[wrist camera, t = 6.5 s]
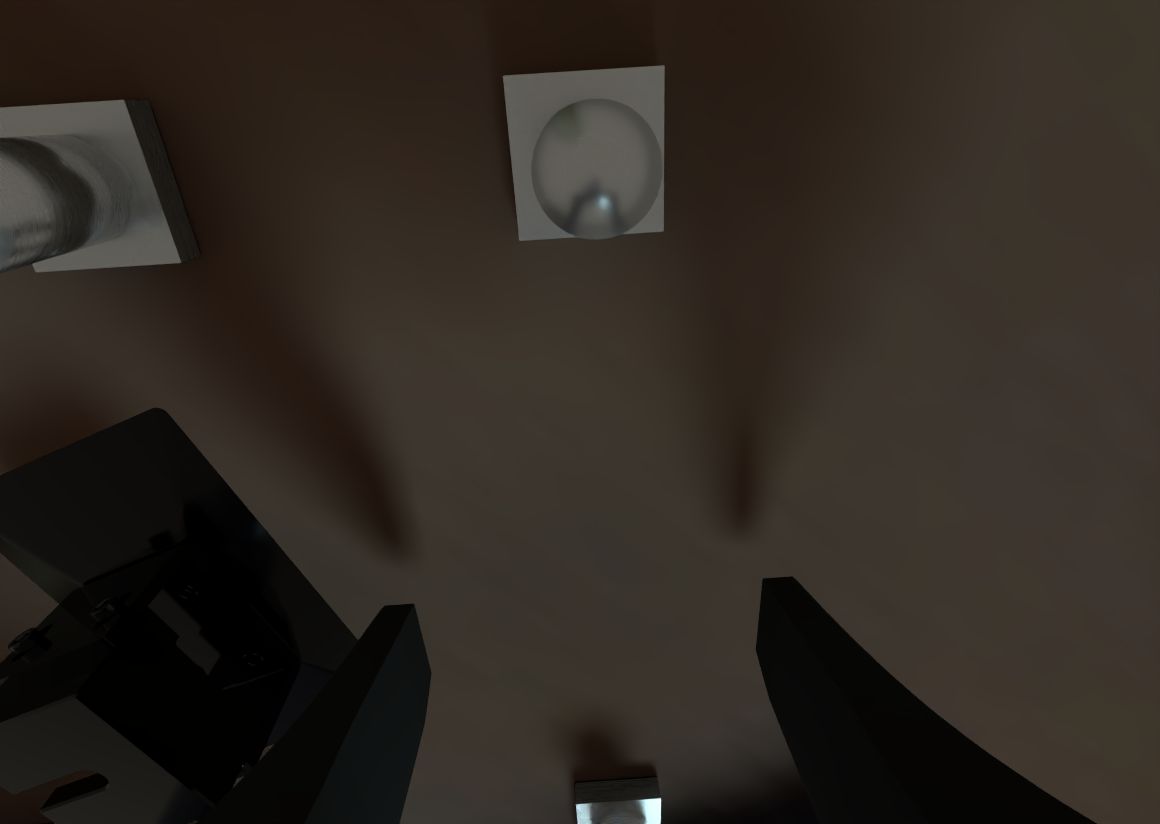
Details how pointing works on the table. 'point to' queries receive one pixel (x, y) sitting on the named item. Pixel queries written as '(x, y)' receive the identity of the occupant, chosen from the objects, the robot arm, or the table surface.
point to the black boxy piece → (150, 630)
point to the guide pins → (164, 236)
